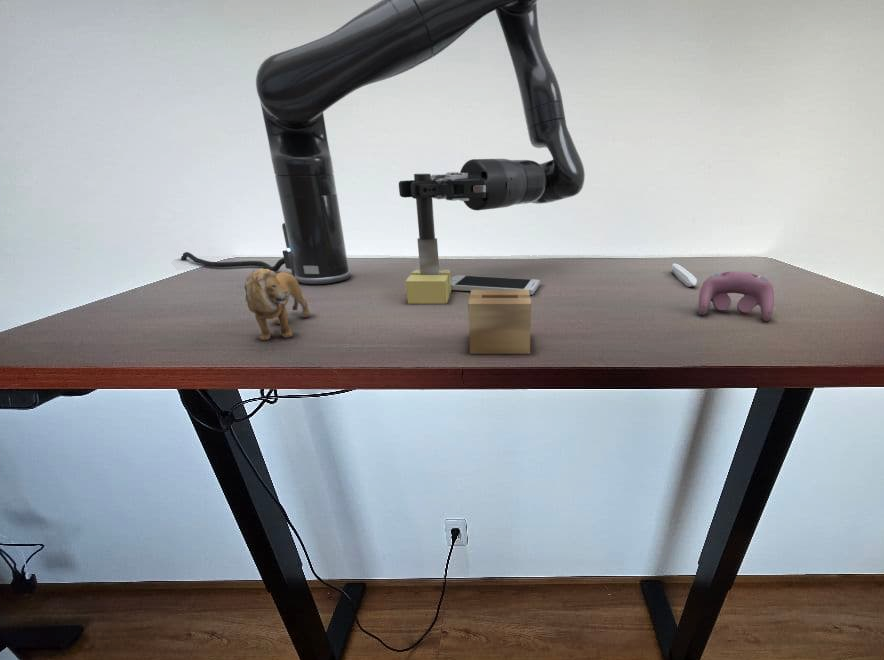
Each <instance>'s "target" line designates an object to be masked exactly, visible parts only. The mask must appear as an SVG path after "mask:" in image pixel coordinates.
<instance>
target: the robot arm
mask: <svg viewBox="0 0 884 660" xmlns="http://www.w3.org/2000/svg"><path fill="white" fill-rule="evenodd" d="M537 3H538V0H380V1H378V2H377V3H375V4H374V5H372V6H370V7H368V8H366V9H365V10H363V11H362V12H360V13H359V14H357V15H356V16H354V17H353V18H351V19H350V20H349V21H347V22H346V23H345V24H343V25H342V26H340V27H339V28H337V29H336V30H334V31H333V32H330V33H329V34H327V35H325V36H323V37H319V38H318V39H315V40H313V41H310V42H307V43H304V44H301V45H299V46H296V47H293V48H290V49H287V50H285V51H281V52H278V53H275V54H271V55H270V56H268V57H267V58H265V59H264V60H263V61H262V62H261V64H260V65H259V67H258V69H257V71H256V75H255V89H256V93H257V96H258V99H259V102H260V103H259V104H260V108H261V113H262V116H263V122H264V127H265V132H266V137H267V142H268V148H269V153H270V158H271V164H272V168H273V174H274V178H275V183H276V188H277V193H278V196H279V203H280V206H281V211H282V217H283V221H284V222H283V223H282V224H281V228H282V232H283V238H284V242H285V246H286V247H285V248H286V249H285V250H282V258H280V259H279V260H277V262H276V263H275V264H274V265H273V266H272V265H270V264H269V263H268V262H265V261H262V260H261V261H259V260H242V261H241V260H240V261H211V260H210V261H209V260H205V259H203V258H198V257H196V256H195V255H194V254H192V253H191V252H188V251H186V252H183V253H182V255H183V256H182V255H181V257H180V261H187V258H188V259H190V260H191V261H192V262H194V263H197V264H200V265H203V266H206V267H212V268H238V267H239V268H240V267H263V269H269V270H270V271H274V272H275V273H276V272H278V271H279V270H280V268H281V267H282V266H283V265H284V266H285V269H289V270H291V275H293V276H294V277H295V278H296V279H297V281H298V284H299V283H300V284H305V285H324V284H325V285H327V284H333V283H334V284H335V283H338V282H339V283H340V282H343V281H346V280H348V279H349V278H350V277H351V273H350V269H349V265H348V264H349V263H348V257H347V249H346V245H345V244H346V243H345V238H344V237H345V236H344V230H343V225H342V219H341V218H342V217H341V211H340V205H339V199H338V192H337V187H336V180H335V179H336V178H335V172H334V165H333V160H332V159H333V158H332V155H331V151H330V145H329V140H328V134H327V127H326V121H325V115H324V112H326V111H327V110H329V108H331V107H333V105H335V104H337V103H338V102H339V101H341V100H342V99H343V98H346V96H348V95H349V94H351V93H353V92H355V91H357V90H359V89H361V88H363V87H366V86H368V85H371V84H374V83H377V82H382V81H385V80H388V79H391V78H394V77H397V76H398V75H401V74H404V73H405V72H408V71H410V70H412V69H415V68H416V67H418V66H420V65H422V64H423V63H426V62H427V61H429V60H431V59H433V58H435V57H436V56H438V55H440V54H441V53H442V52H444V51H445V50H446V49H448V48H449V47H450V46H451V45H452V44H454V43H455V42H456V41H457V40H459V38H461V37H463V35H465V33H466V32H467V31H468V30H470V29H471V28H472V27H473V26H474V25H475V24H476V23H477V22H478V21H480V20H481V19H482V18H484V17H486V16H487V15H489V14H490V13H492V12H493V11H495V13H496V16H497V17H496V18H497V19H498V22H499V25H500V27H501V30H502V34H503V37H504V40H505V42H506V46H507V49H508V52H509V56H510V60H511V62H512V66H513V69H514V73H515V77H516V81H517V85H518V90H519V93H520V100H521V104H522V109H523V114H524V120H525V125H526V129H527V135H528V138H529V139H528V140H529V142H530V144H531V146H532V147H533V148H537V149H545V148H546V149H547V150H548V152H549V154H550V155H551V157H552V159H551V160H548V161H545V162H542V163H538V162H537V161H535V160H531V159H508V158H472V159H469V160H467V161H466V162H465V163H464V164H463V165H462V167H461V169H460V171H449V172H446V173H442V174H431V181H418V182H414V179H410V180H409V179H408V180H400V181H399V182H398V192H399V197H401V198H412V199H415V200H416V199H422V198H432V199H435V200H446V201H453V202H454V201H455V202H456V201H461V202H463V203H464V204H465V206H466V207H467V208H468V209H470V210H473V211H485V210H494V209H503V208H509V207H513V206H515V205H525V204H537V205H540V204H542V205H543V204H548V203H554V202H557V201H561V200H564V199H568V198H572V197H575V196H577V195H579V194H580V193H581V191H582V190H583V188H584V184H585V179H586V178H585V176H586V174H585V173H586V171H585V167H584V163H583V161H582V159H581V156H580V154H579V152H578V150H577V148H576V145H575V143H574V140H573V138H572V135H571V133H570V131H569V128H568V126H567V120H566V113H565V107H564V103H563V102H564V101H563V97H562V92H561V88H560V84H559V82H558V79H557V76H556V73H555V71H554V69H553V67H552V65H551V63H550V61H549V59H548V57H547V54H546V52H545V49H544V46H543V43H542V39H541V35H540V29H539V19H538V7H537V6H538V5H537Z"/></svg>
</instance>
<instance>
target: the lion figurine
mask: <svg viewBox="0 0 884 660" xmlns="http://www.w3.org/2000/svg"><path fill="white" fill-rule="evenodd" d="M244 291H245V301H246V304H247V308H248V310H249V311H250V312H251V313H253V314H254V316H255V320H256V321H257V324H258V326H259V328H260V331H261V334H260V335H259V339H260V340H261V341H267V340H270V339H271V332H270V329H269V327H268V324H267V320H272V319H274V320H273V323H274V324H276V325H279V324H280V325H279V326H280V327H279V328H280V333H281V336H282V337H283V338H285V339H287V338H292V337H293V336H294V334H293V333H294V332H292V331H291V328H290V325H289V315H288V311H287V308H286V306H287V305H288V302H289V298H290V296H291V297H292V298H293V301H294V302H293V305H292V306H291V307H292V311H298V306H299V305H300V306H301V309H302V312H301V313H300V314H301V315H300V316H301V317H302V318H310V316H311V313H310V310H309V307H308V302H307V300H306V299H305V298H304V296H303V292H302V289H301V285H300V284H299V282H298V281H297V279H296V278H295V277H294V276H293V275H292V273H288V272H285V271H281V272H278V273H277V272H276V271H275V272H274V271H270V270H269V269H266V268H264V267H263V268H258V269H256V270H253V271H252V272H251V273H249V274H248V275H247V277H246V282H245V283H244Z"/></svg>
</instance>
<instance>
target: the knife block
mask: <svg viewBox="0 0 884 660" xmlns="http://www.w3.org/2000/svg"><path fill="white" fill-rule="evenodd" d="M467 304H468V305H467V308H468V309H467V310H468V311H467V312H468V332H469V334H468V335H469V336H468V338H469V354H471V355H478V354H479V355H481V354H482V355H497V354H498V355H503V354H504V355H509V354H510V355H528V354H529V355H530V354H531V324H532V301H531V295H530V294H529V290H471V291H470V295H469V299H468V303H467Z"/></svg>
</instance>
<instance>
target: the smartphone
mask: <svg viewBox="0 0 884 660" xmlns="http://www.w3.org/2000/svg"><path fill="white" fill-rule="evenodd" d="M540 283H541V280H540V279H535V278H533V279H532V278H517V277H516V278H515V277H497V276H478V275H464V274H463V275H460V274H456V275H454V276H452V277H451V291H463V292H464V291H465V292H471V290H529V294H530V296H531V295H534V294H535V292H536V291H537V289H538V288H539V286H541V285H540Z"/></svg>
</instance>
